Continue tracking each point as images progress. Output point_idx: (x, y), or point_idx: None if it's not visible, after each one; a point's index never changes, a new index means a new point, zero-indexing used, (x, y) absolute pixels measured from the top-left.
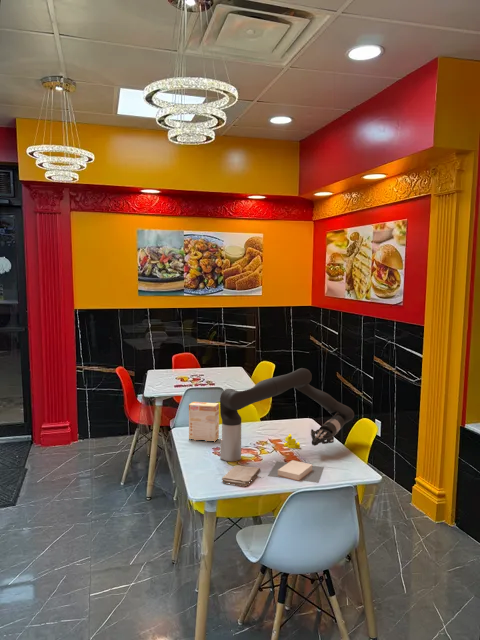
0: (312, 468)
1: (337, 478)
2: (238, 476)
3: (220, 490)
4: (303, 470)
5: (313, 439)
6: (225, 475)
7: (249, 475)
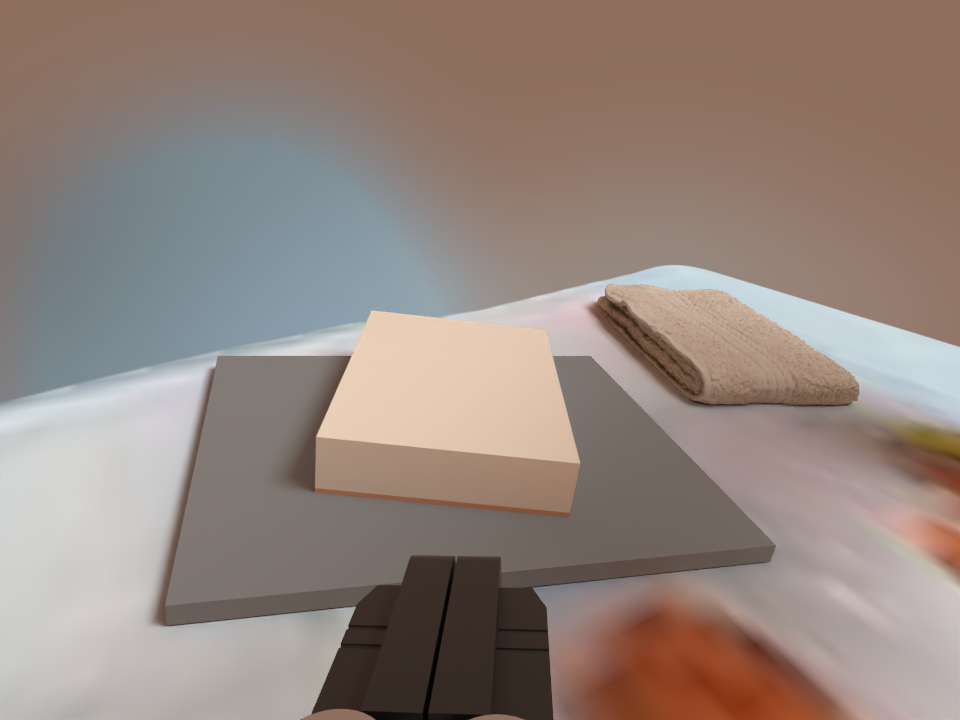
0: (322, 521)
1: (10, 470)
2: (683, 303)
3: (653, 284)
4: (364, 350)
5: (538, 659)
6: (737, 300)
7: (640, 301)
